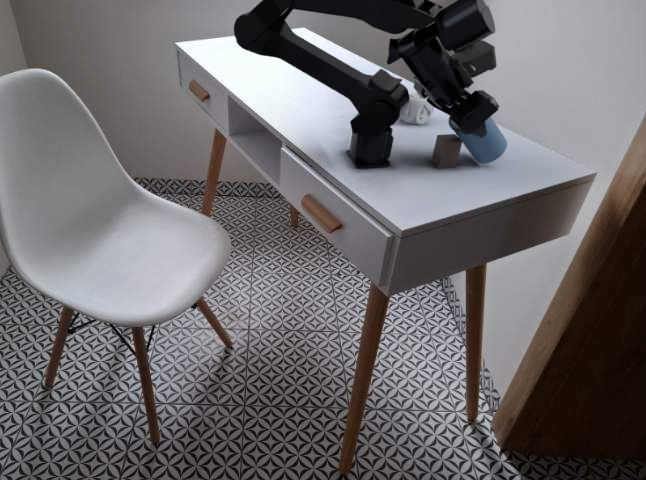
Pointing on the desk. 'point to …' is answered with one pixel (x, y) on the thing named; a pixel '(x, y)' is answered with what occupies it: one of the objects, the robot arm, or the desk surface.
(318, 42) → the desk surface
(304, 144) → the desk surface
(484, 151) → the blue canister
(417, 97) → the die
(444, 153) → the small dark brown block
